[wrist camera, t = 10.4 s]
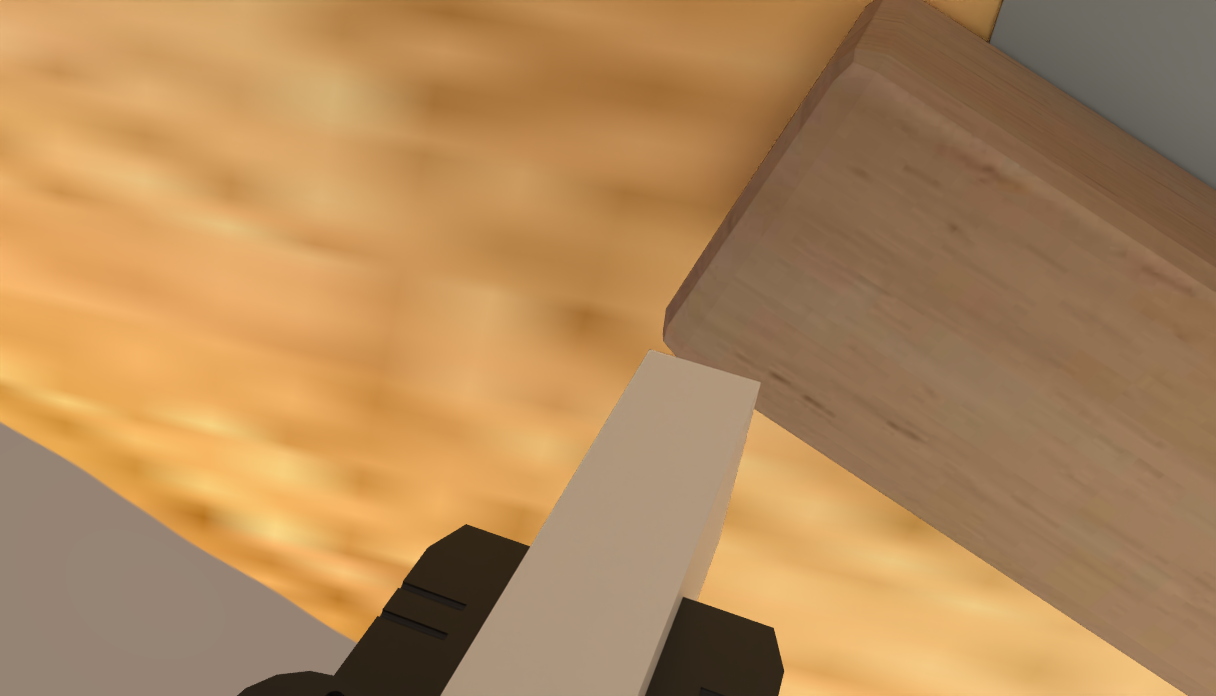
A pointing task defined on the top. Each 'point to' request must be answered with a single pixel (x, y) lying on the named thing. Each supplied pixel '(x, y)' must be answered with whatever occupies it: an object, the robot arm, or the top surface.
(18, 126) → the top surface
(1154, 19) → the mat
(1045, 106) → the block
